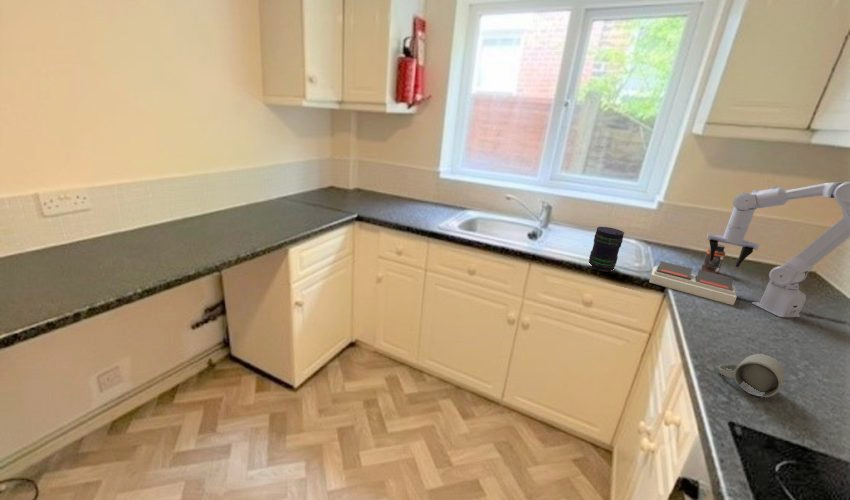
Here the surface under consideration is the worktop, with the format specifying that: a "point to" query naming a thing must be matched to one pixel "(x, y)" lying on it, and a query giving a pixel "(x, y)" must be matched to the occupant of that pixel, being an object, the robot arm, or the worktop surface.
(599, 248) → the storage jar
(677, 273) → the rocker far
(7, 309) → the worktop surface
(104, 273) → the worktop surface
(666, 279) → the rocker switch panel
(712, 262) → the supplement bottle
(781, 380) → the ceramic mug
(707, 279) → the rocker near
